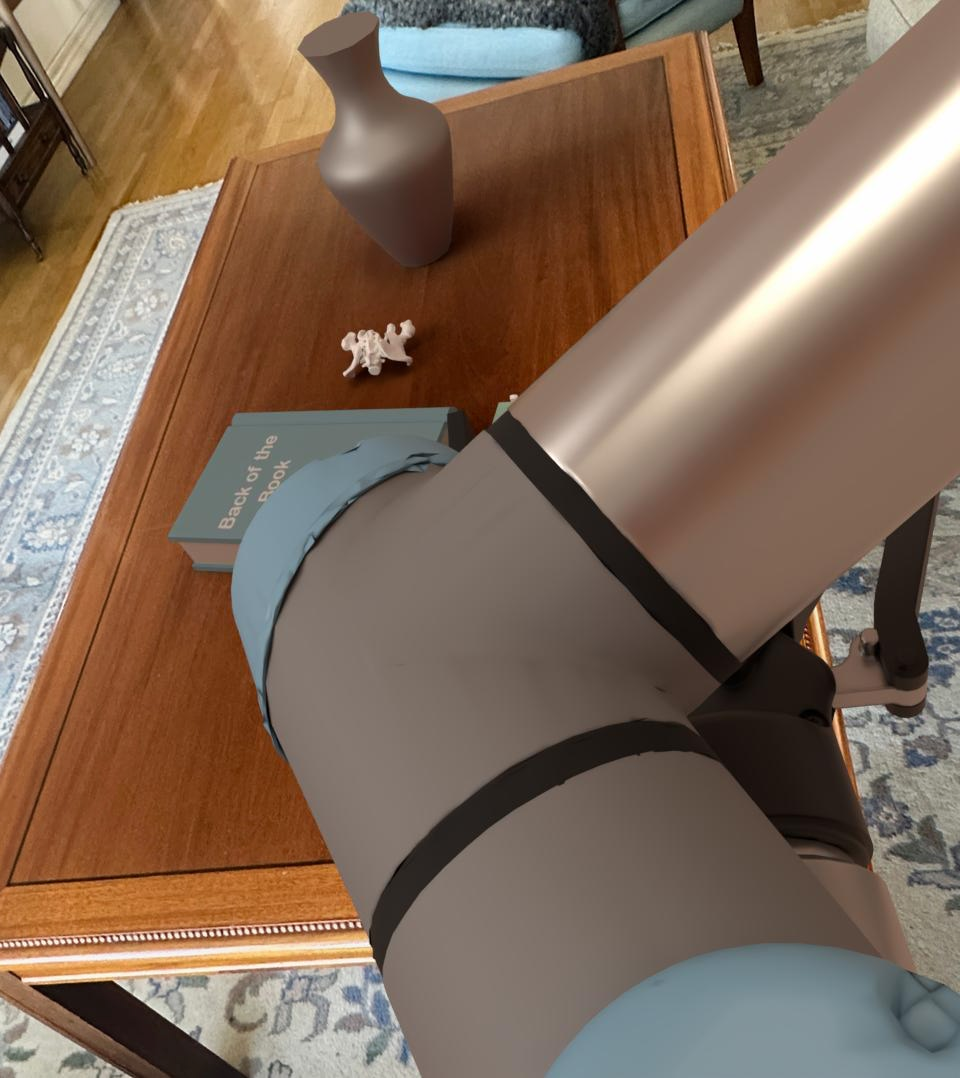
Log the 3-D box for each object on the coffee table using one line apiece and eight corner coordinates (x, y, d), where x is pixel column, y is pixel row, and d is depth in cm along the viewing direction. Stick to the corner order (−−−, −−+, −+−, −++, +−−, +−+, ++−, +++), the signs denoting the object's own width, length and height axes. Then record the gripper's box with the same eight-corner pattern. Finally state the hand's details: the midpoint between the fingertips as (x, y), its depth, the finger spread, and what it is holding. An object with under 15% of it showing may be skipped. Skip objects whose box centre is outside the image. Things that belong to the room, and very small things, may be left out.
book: (195, 570, 90) (166, 536, 86) (262, 441, 99) (239, 406, 95) (418, 581, 81) (397, 544, 77) (469, 438, 90) (452, 399, 86)
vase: (472, 280, 105) (389, 53, 87) (351, 298, 110) (249, 86, 92) (493, 202, 114) (422, -20, 96) (380, 222, 119) (292, 14, 101)
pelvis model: (410, 304, 99) (403, 342, 95) (423, 339, 102) (416, 377, 98) (337, 320, 101) (326, 358, 97) (352, 354, 104) (342, 392, 100)
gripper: (368, 1001, 32) (373, 520, 46) (1197, 865, 28) (924, 379, 42) (265, 925, 27) (306, 405, 40) (1280, 741, 22) (934, 229, 36)
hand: (619, 391), depth 41 cm, fingers open, 13 cm apart
